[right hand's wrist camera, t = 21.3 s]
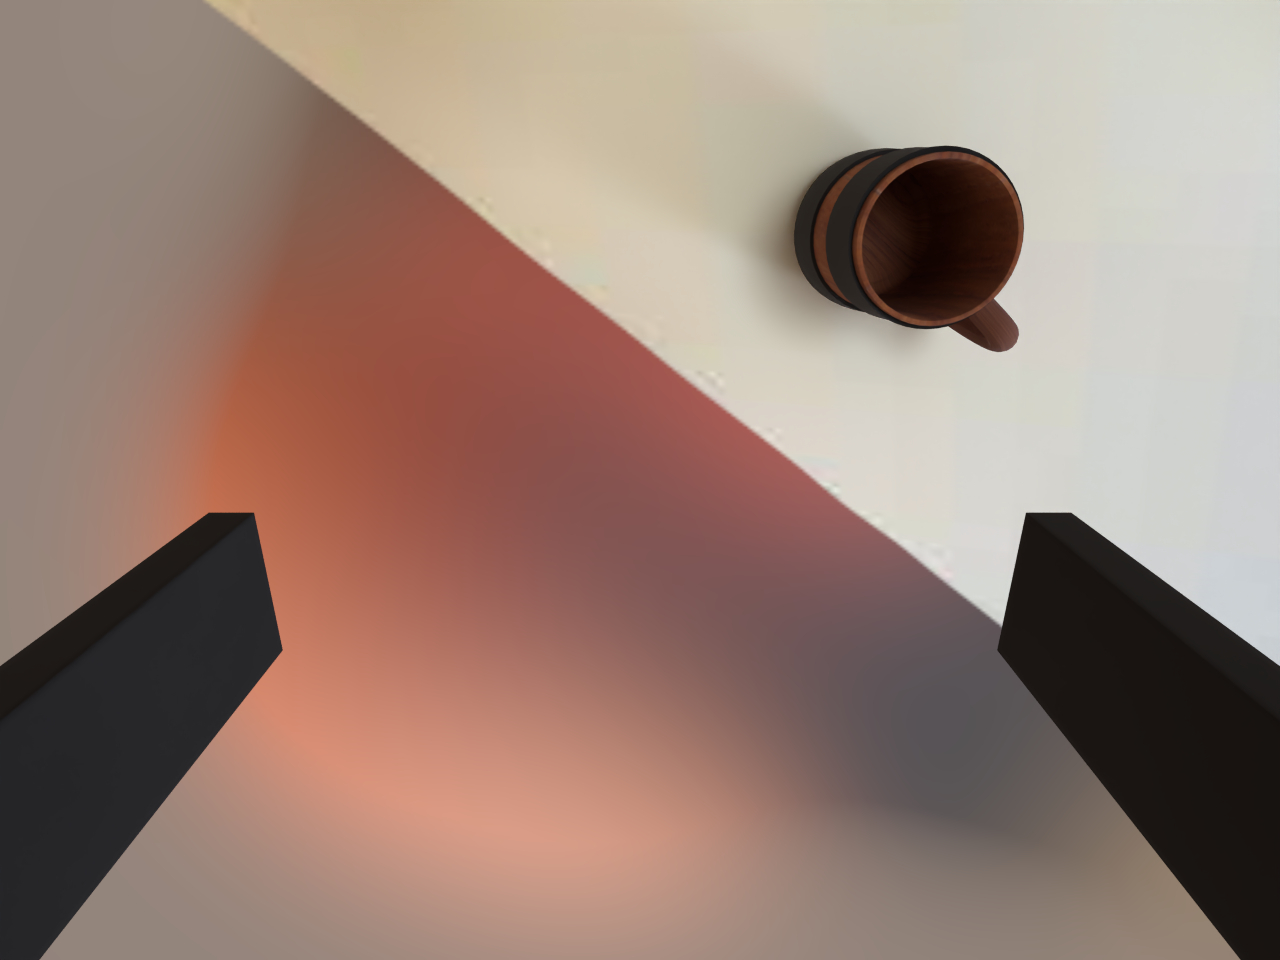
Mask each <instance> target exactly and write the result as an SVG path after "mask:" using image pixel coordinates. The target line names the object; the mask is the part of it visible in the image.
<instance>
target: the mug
mask: <svg viewBox="0 0 1280 960" xmlns="http://www.w3.org/2000/svg"><path fill="white" fill-rule="evenodd" d="M1023 233H1024V221H1023V212H1022V207H1021V203H1020V200H1019V197H1018V194H1017V192H1016V190H1015V188H1014V186H1013V183H1012V182H1011V181H1010V179H1009V178H1008V176H1007V175H1006V173H1005V172H1004V171H1003V170H1002V169H1001V168H1000V167H999V166H998V165H997V164H995V163H994V162H993V161H992V160H990V159H989V158H987V157H986V156H984V155H982V154H980V153H978V152H975V151H973V150H970V149H967V148H962V147H957V146H936V147H914V148H904V149H891V148H882V149H872V150H867V151H862V152H858V153H855V154H853V155H850V156H847V157H845V158H843V159H841V160H840V161H838V162H836V163H835V164H833V165H832V166H830V167H829V168H828V169H826V170H825V171H824V172H823V173H822V174H821V175H820V176H819V177H818V178H817V179H816V181H815V182H814V183H813V184H812V186H811V187H810V189H809V190H808V192H807V193H806V195H805V197H804V199H803V201H802V203H801V206H800V208H799V211H798V214H797V218H796V223H795V231H794V244H795V251H796V256H797V259H798V263H799V265H800V267H801V270H802V272H803V274H804V275H805V277H806V279H807V280H808V281H809V282H810V284H811V285H812V286H813V287H814V288H815V289H816V290H817V291H818V292H819V293H820V294H822V295H823V296H825V297H826V298H828V299H829V300H831V301H833V302H835V303H837V304H839V305H841V306H844V307H847V308H850V309H854V310H857V311H862V312H866V313H868V314H870V315H873V316H876V317H879V318H883V319H887V320H890V321H892V322H894V323H897V324H900V325H902V326H906V327H911V328H916V329H935V328H941V327H946V326H949V327H950V328H952V329H953V330H955V331H956V332H958V333H959V334H961V335H962V336H964V337H966V338H967V339H969V340H971V341H972V342H974V343H976V344H978V345H979V346H981V347H983V348H986V349H988V350H991V351H995V352H1002V351H1007V350H1009V349H1010V348H1012V347H1013V346H1014V345H1015V344H1016V342H1017V339H1018V336H1019V331H1018V327H1017V325H1016V324H1015V322H1014V321H1013V320H1012V318H1011V317H1010V316H1009V315H1008V314H1007V313H1006V311H1005V310H1004V309H1003V308H1002V307H1001V306H1000V305H999V304H998V303H997V302H996V301H995V300H994V297H995V296H996V295H997V294H998V293H999V292H1000V291H1001V290H1002V288H1003V287H1004V286H1005V284H1006V283H1007V281H1008V280H1009V278H1010V276H1011V275H1012V273H1013V271H1014V268H1015V266H1016V264H1017V261H1018V258H1019V255H1020V252H1021V247H1022V242H1023Z"/></svg>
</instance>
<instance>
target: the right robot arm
mask: <svg viewBox="0 0 1280 960" xmlns="http://www.w3.org/2000/svg"><path fill="white" fill-rule="evenodd" d="M281 652H282V645H281V640H280V635H279V630H278V626H277V621H276V616H275V611H274V606H273V602H272V597H271V592H270V587H269V582H268V578H267V573H266V568H265V563H264V559H263V554H262V549H261V544H260V540H259V535H258V530H257V525H256V521H255V516H254V513H208V514H207V515H205V516H204V517H202V518H201V519H200V520H198V521H197V522H196V523H194V524H193V525H192V526H190V527H189V528H187V529H186V530H185V531H183V532H182V533H181V534H179V535H178V536H177V537H175V538H174V539H173V540H171V541H170V542H168V543H167V544H166V545H164V546H163V547H162V548H160V549H159V550H158V551H156V552H155V553H153V554H152V555H151V556H149V557H148V558H147V559H145V560H144V561H143V562H141V563H140V564H138V565H137V566H136V567H134V568H133V569H132V570H130V571H129V572H128V573H126V574H125V575H124V576H122V577H121V578H120V579H118V580H117V581H115V582H114V583H113V584H111V585H110V586H109V587H107V588H106V589H104V590H103V591H102V592H100V593H99V594H98V595H96V596H95V597H94V598H92V599H91V600H90V601H88V602H87V603H86V604H84V605H83V606H81V607H80V608H79V609H77V610H76V611H75V612H73V613H72V614H71V615H69V616H68V617H67V618H65V619H64V620H62V621H61V622H60V623H58V624H57V625H56V626H54V627H53V628H51V629H50V630H49V631H47V632H46V633H45V634H43V635H42V636H41V637H39V638H38V639H37V640H35V641H34V642H32V643H31V644H30V645H28V646H27V647H26V648H24V649H23V650H22V651H20V652H19V653H18V654H16V655H15V656H13V657H12V658H11V659H9V660H8V661H7V662H5V663H4V664H3V665H1V666H0V960H39V959H40V958H41V957H42V956H43V954H44V953H45V952H46V951H47V949H48V948H49V947H50V945H51V944H52V943H53V942H54V940H55V939H56V938H57V937H58V935H59V934H60V933H61V932H62V930H63V929H64V928H65V926H66V925H67V924H68V923H69V921H70V920H71V919H72V918H73V916H74V915H75V914H76V912H77V911H78V910H79V909H80V907H81V906H82V905H83V903H84V902H85V901H86V900H87V898H88V897H89V896H90V895H91V893H92V892H93V891H94V890H95V888H96V887H97V886H98V884H99V883H100V882H101V881H102V879H103V878H104V877H105V876H106V874H107V873H108V872H109V870H110V869H111V868H112V867H113V865H114V864H115V863H116V862H117V860H118V859H119V858H120V856H121V855H122V854H123V853H124V851H125V850H126V849H127V848H128V846H129V845H130V844H131V843H132V841H133V840H134V839H135V837H136V836H137V835H138V834H139V832H140V831H141V830H142V829H143V827H144V826H145V825H146V823H147V822H148V821H149V820H150V818H151V817H152V816H153V815H154V813H155V812H156V811H157V809H158V808H159V807H160V806H161V804H162V803H163V802H164V801H165V799H166V798H167V797H168V795H169V794H170V793H171V792H172V790H173V789H174V788H175V786H176V785H177V784H178V783H179V781H180V780H181V779H182V778H183V776H184V775H185V774H186V773H187V771H188V770H189V769H190V767H191V766H192V765H193V764H194V762H195V761H196V760H197V759H198V757H199V756H200V755H201V753H202V752H203V751H204V750H205V748H206V747H207V746H208V745H209V743H210V742H211V741H212V739H213V738H214V737H215V736H216V734H217V733H218V732H219V731H220V729H221V728H222V727H223V725H224V724H225V723H226V722H227V720H228V719H229V718H230V717H231V715H232V714H233V713H234V711H235V710H236V709H237V708H238V706H239V705H240V704H241V702H242V701H243V700H244V699H245V697H246V696H247V695H248V694H249V692H250V691H251V690H252V689H253V687H254V686H255V685H256V683H257V682H258V681H259V680H260V678H261V677H262V676H263V675H264V673H265V672H266V671H267V669H268V668H269V667H270V666H271V664H272V663H273V662H274V660H275V659H276V658H277V657H278V655H279V654H280V653H281ZM998 652H999V653H1000V654H1001V655H1002V657H1003V658H1004V659H1005V661H1006V662H1007V663H1008V664H1009V666H1010V667H1011V668H1012V669H1013V671H1014V672H1015V673H1016V675H1017V676H1018V677H1019V678H1020V680H1021V681H1022V682H1023V683H1024V685H1025V686H1026V687H1027V689H1028V690H1029V691H1030V692H1031V694H1032V695H1033V696H1034V697H1035V699H1036V700H1037V701H1038V703H1039V704H1040V705H1041V706H1042V708H1043V709H1044V710H1045V711H1046V713H1047V714H1048V715H1049V717H1050V718H1051V719H1052V720H1053V722H1054V723H1055V724H1056V725H1057V727H1058V728H1059V729H1060V731H1061V732H1062V733H1063V734H1064V736H1065V737H1066V738H1067V739H1068V741H1069V742H1070V743H1071V745H1072V746H1073V747H1074V748H1075V750H1076V751H1077V752H1078V753H1079V755H1080V756H1081V757H1082V759H1083V760H1084V761H1085V762H1086V764H1087V765H1088V766H1089V767H1090V769H1091V770H1092V771H1093V773H1094V774H1095V775H1096V776H1097V778H1098V779H1099V780H1100V781H1101V783H1102V784H1103V785H1104V787H1105V788H1106V789H1107V790H1108V792H1109V793H1110V794H1111V795H1112V797H1113V798H1114V799H1115V800H1116V802H1117V803H1118V804H1119V806H1120V807H1121V808H1122V809H1123V811H1124V812H1125V813H1126V815H1127V816H1128V817H1129V818H1130V820H1131V821H1132V822H1133V823H1134V825H1135V826H1136V827H1137V829H1138V830H1139V831H1140V832H1141V834H1142V835H1143V836H1144V837H1145V839H1146V840H1147V841H1148V843H1149V844H1150V845H1151V846H1152V848H1153V849H1154V850H1155V851H1156V853H1157V854H1158V855H1159V857H1160V858H1161V859H1162V860H1163V862H1164V863H1165V864H1166V865H1167V867H1168V868H1169V869H1170V870H1171V872H1172V873H1173V874H1174V875H1175V877H1176V878H1177V879H1178V881H1179V882H1180V883H1181V884H1182V886H1183V887H1184V888H1185V890H1186V891H1187V892H1188V893H1189V895H1190V896H1191V897H1192V898H1193V900H1194V901H1195V902H1196V904H1197V905H1198V906H1199V907H1200V909H1201V910H1202V911H1203V912H1204V914H1205V915H1206V916H1207V918H1208V919H1209V920H1210V921H1211V923H1212V924H1213V925H1214V926H1215V928H1216V929H1217V930H1218V932H1219V933H1220V934H1221V935H1222V937H1223V938H1224V939H1225V940H1226V942H1227V943H1228V944H1229V946H1230V947H1231V948H1232V949H1233V951H1234V952H1235V953H1236V954H1237V956H1238V957H1239V958H1240V960H1280V666H1279V665H1277V664H1276V663H1275V662H1273V661H1272V660H1271V659H1269V658H1268V657H1267V656H1265V655H1264V654H1263V653H1261V652H1260V651H1258V650H1257V649H1256V648H1254V647H1253V646H1252V645H1250V644H1249V643H1248V642H1246V641H1245V640H1243V639H1242V638H1241V637H1239V636H1238V635H1237V634H1235V633H1234V632H1233V631H1231V630H1230V629H1229V628H1227V627H1226V626H1224V625H1223V624H1222V623H1220V622H1219V621H1218V620H1216V619H1215V618H1214V617H1212V616H1211V615H1209V614H1208V613H1207V612H1205V611H1204V610H1203V609H1201V608H1200V607H1199V606H1197V605H1196V604H1195V603H1193V602H1192V601H1190V600H1189V599H1188V598H1186V597H1185V596H1184V595H1182V594H1181V593H1180V592H1178V591H1177V590H1175V589H1174V588H1173V587H1171V586H1170V585H1169V584H1167V583H1166V582H1165V581H1163V580H1162V579H1161V578H1159V577H1158V576H1156V575H1155V574H1154V573H1152V572H1151V571H1150V570H1148V569H1147V568H1146V567H1144V566H1143V565H1142V564H1140V563H1139V562H1137V561H1136V560H1135V559H1133V558H1132V557H1131V556H1129V555H1128V554H1127V553H1125V552H1124V551H1122V550H1121V549H1120V548H1118V547H1117V546H1116V545H1114V544H1113V543H1112V542H1110V541H1109V540H1108V539H1106V538H1105V537H1103V536H1102V535H1101V534H1099V533H1098V532H1097V531H1095V530H1094V529H1093V528H1091V527H1090V526H1088V525H1087V524H1086V523H1084V522H1083V521H1082V520H1080V519H1079V518H1078V517H1076V516H1075V515H1074V514H1072V513H1026V515H1025V520H1024V525H1023V530H1022V535H1021V539H1020V544H1019V549H1018V554H1017V559H1016V563H1015V568H1014V573H1013V578H1012V582H1011V587H1010V592H1009V597H1008V602H1007V606H1006V611H1005V616H1004V621H1003V626H1002V630H1001V635H1000V640H999V645H998Z"/></svg>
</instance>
